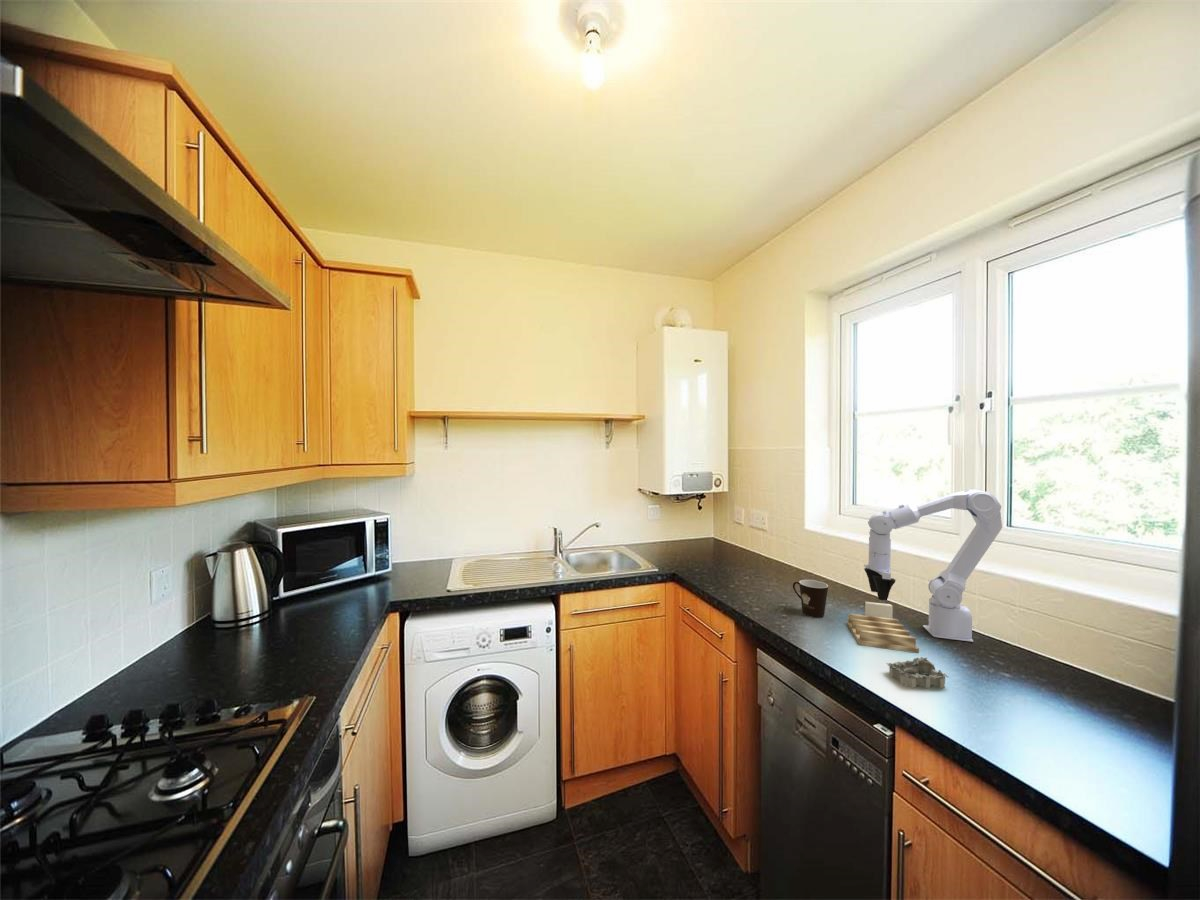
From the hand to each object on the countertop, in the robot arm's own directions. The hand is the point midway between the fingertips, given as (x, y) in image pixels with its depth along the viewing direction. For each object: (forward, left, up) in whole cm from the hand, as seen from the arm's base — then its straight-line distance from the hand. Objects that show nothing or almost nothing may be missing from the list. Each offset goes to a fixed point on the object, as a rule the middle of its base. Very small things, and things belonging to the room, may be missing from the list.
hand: (878, 595), depth 133 cm
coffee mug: (+19, -2, -9) cm, 21 cm away
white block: (0, 0, -9) cm, 9 cm away
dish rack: (+3, +12, -8) cm, 15 cm away
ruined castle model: (+2, +36, -9) cm, 37 cm away
